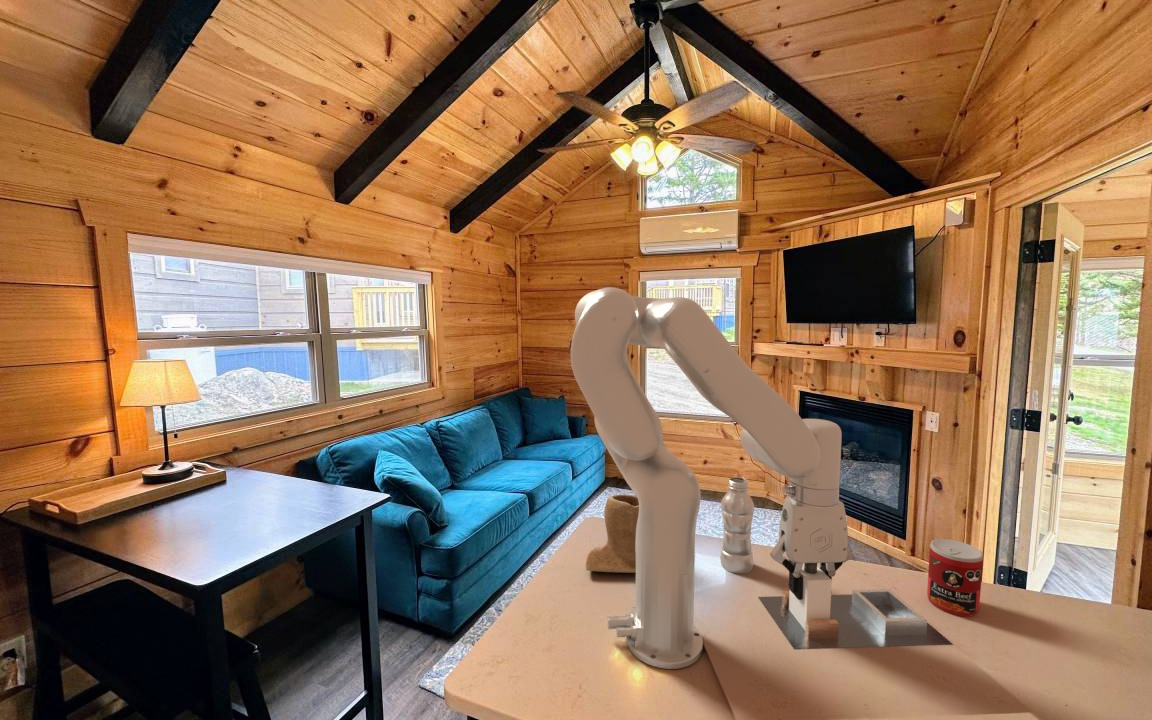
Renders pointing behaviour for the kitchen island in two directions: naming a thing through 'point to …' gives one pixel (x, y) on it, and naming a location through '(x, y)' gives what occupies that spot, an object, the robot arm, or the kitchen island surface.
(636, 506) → the tan suede boot
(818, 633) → the panel
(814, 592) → the plug
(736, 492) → the plastic bottle
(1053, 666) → the kitchen island surface
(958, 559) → the canned food
